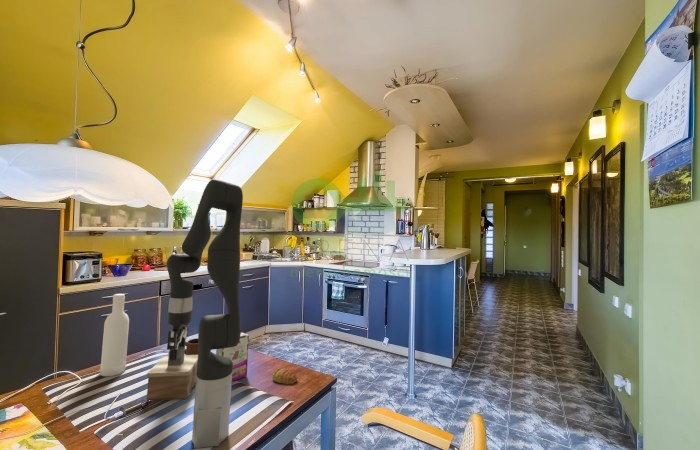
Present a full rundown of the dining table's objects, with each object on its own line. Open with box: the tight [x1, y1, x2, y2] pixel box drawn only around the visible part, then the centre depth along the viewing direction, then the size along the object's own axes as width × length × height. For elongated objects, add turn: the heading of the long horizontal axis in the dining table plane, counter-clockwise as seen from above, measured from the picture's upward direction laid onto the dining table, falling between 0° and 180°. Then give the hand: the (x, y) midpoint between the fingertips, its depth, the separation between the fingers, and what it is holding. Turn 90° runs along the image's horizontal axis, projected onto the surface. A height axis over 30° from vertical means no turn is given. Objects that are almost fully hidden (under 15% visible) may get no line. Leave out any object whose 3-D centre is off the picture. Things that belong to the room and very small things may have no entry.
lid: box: [146, 346, 198, 378], centre depth 108 cm, size 15×13×7 cm
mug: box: [184, 338, 198, 355], centre depth 130 cm, size 12×8×9 cm, turn 89°
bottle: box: [99, 293, 130, 377], centre depth 119 cm, size 8×8×30 cm
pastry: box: [272, 367, 298, 385], centre depth 119 cm, size 9×7×4 cm
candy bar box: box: [215, 331, 250, 382], centre depth 118 cm, size 11×5×16 cm, turn 143°
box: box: [146, 362, 198, 402], centre depth 108 cm, size 14×12×8 cm
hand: (177, 355), depth 108 cm, fingers open, 8 cm apart
